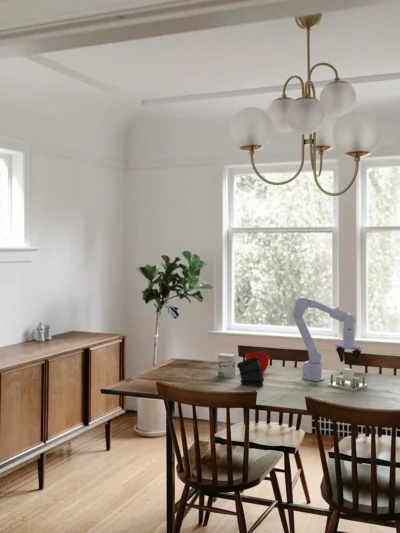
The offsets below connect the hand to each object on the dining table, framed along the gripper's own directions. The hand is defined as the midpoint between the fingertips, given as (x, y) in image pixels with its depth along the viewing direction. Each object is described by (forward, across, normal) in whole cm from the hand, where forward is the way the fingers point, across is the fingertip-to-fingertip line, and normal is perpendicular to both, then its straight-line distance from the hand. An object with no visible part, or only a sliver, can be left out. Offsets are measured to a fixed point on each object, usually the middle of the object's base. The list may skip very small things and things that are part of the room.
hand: (348, 362), depth 297 cm
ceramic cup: (+10, +45, +18) cm, 49 cm away
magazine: (+10, +29, +45) cm, 54 cm away
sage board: (+6, -6, +10) cm, 13 cm away
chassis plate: (+9, -6, +11) cm, 16 cm away
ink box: (+10, +51, +38) cm, 64 cm away
